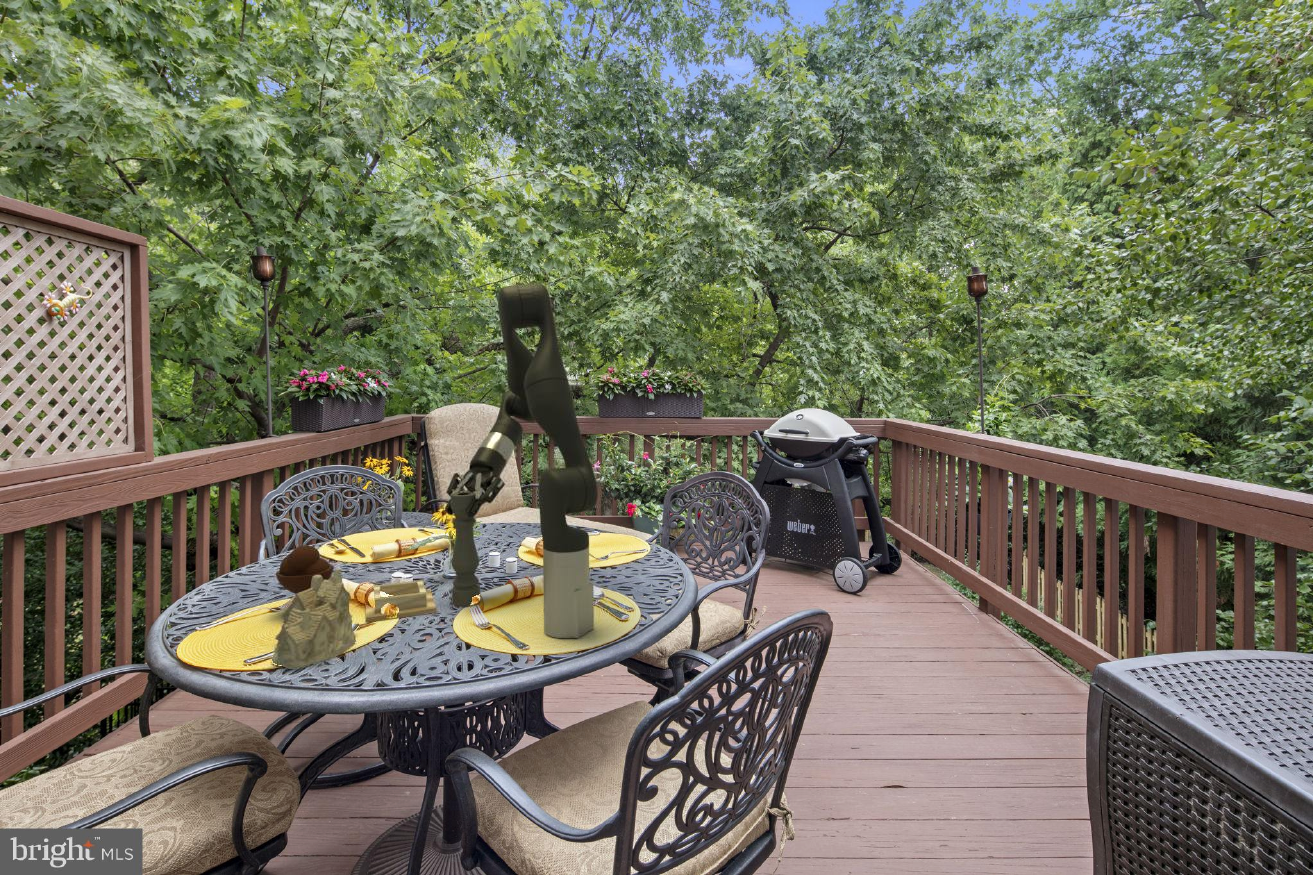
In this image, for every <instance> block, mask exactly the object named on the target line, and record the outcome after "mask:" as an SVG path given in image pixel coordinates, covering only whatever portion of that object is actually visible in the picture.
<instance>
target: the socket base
mask: <svg viewBox="0 0 1313 875" xmlns="http://www.w3.org/2000/svg"><path fill="white" fill-rule="evenodd" d="M380 590H381V591H383V592H385V593H386V594H389V595H393V596H388V597H381V596H380ZM373 596H374V599H375V609H374V608H372V607H370V606H368V605H366V604H365V622H366V623H371V622H370V621H373V622H379V621H378V620H380V621H385V620H384V619H387V620H389V619H388V618H387V617H389V616H390V615H384V614H382V613H381V608H382V607H383V606H384V605H385V604H387V603H389V604H393V605H394V606H397V607H398V608H399V612H398V613H397V618H396V619H401V618H407V617H408V618H409V617H415V616H422V615H429V614H436V613H437V606H436V602H435V600H434V596H433V594H432V591H431V589H430V588H429V589H426V587H425V584H424V581H423V579H421V580H411V581H402V582H396V583H387V584H376V585H373ZM391 615H392V616H394V614H391ZM395 615H396V614H395ZM392 616H391V617H392Z"/></svg>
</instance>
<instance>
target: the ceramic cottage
mask: <svg viewBox="0 0 1313 875" xmlns="http://www.w3.org/2000/svg"><path fill="white" fill-rule="evenodd" d="M341 573H342V569H341V568H336V569H333V573H332V575H331V577H330V579H329V580H324V581H323V577H322V576H321V575H315V576H313V577H312V582H311V588H310V589H308V590H305V591H303V592H300V593H297V594H295V595H294V597H293V598H292V601H291V604H289V605H288V607H287V609H285V610H284V611H283V613H282V614H281V617H282V618H283V624H282V625H281V629H280V631H279V632H278V634H277V635H276V636H275V638H274V639H275V640H276V641H277V643H276V646H275V647H274V650H273V651H274V652H273V654H274V655H273V654H272V656H273V657H272V656H271V657H270V658H271V659H272V661H273V663H275V664H277V665H282V666H283V667H282V668H284V667H285V668H284V669H288V670H299V669H302V668H306V667H309V666H311V665H316V664H318V663H322V662H325V661H328V660H332V659H333V658H336V657H338V656H339V655H341V654H344V652H346V651H348V650H350V649H351V648H352V647H353V646H355V645H356V643H357V638H356V635H355V631H354V630H353V620H352V619H353V615H352V614H351V612H350V600H351V598H352V596H351V593H350V592H349V591H348V590H347V589H346V588H345V585H344V582H343V578H342V575H341ZM355 642H356V643H355ZM354 644H355V645H354ZM352 645H353V646H352ZM351 646H352V647H351ZM350 647H351V648H350ZM349 648H350V649H349ZM347 649H348V650H347ZM271 659H270V660H271Z"/></svg>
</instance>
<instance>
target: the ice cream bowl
mask: <svg viewBox="0 0 1313 875" xmlns="http://www.w3.org/2000/svg"><path fill="white" fill-rule="evenodd" d="M334 567H335V566H334V565H333V564H331V563H329V561H327V560H326V559H324V558H322V557H321V555H320V551H319V550H318V548H316V547H314V546H311V545H303V544H302V545H300V546H297V547H295V548H294V549H293V550H292V551H291V552H290V553H289V554H287V555H285V557H283V559H282V560H281V563H280V564H279V570H278V571H276V572H275V576H276V580H277V582H278V583H279V585H280V586H282V587H283V588H284V589H285V590H287V591H288V592H290V593H293V594H295V595H296V594H297V593H300V592H303V591H305V590H308V589H310V588H311V582H312V577H313V576H315V575H321V576H322V577H323V581H324V580H330V578H331V575H332V574H334Z"/></svg>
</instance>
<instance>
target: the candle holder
mask: <svg viewBox="0 0 1313 875" xmlns="http://www.w3.org/2000/svg"><path fill="white" fill-rule="evenodd" d="M450 495H451V497H450V498H451V509H452V512H453V516H454V517H455V518H454V519H453V520H452V521H451V522H452V525H454V527H455V543H454V548H453V552H452V556H451V567H452V570H453V571H454V572H455V575H456V576H455V578H454V580H453V582H452V585H453V587H452V588H451V601H452V605H453V606H455V607H459V608H460V607H461V608H462V607H471V606H470V604H471V602H472V597H474V596H476V595H479V594H480V595H481V587H480V585H479V583H480V581H479V578H478V577H477V576H476V572H477V571H476V570H477V569H478V567H479V565H480V558H479V557H480V556H479V554H478V550H477V545H476V543H475V540H474V539H475V538H474V537H475V536H474V526H475V524H476V523H477V519H476V518H475V517H473V518H470V517H469V516H468V515H467V514H466V511H467V509H468V508H469V506H470V504H471V502H472V501H473V499H476V498H475V495H476V492H458V493H453V494H450Z"/></svg>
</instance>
